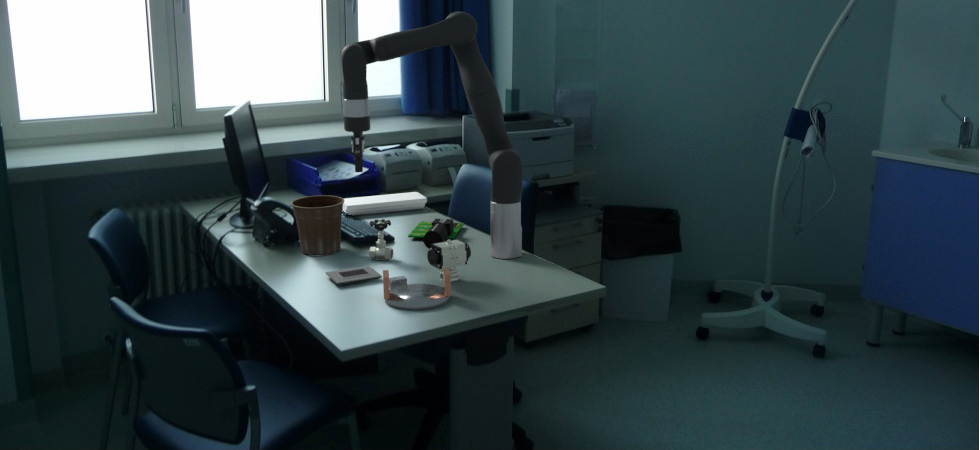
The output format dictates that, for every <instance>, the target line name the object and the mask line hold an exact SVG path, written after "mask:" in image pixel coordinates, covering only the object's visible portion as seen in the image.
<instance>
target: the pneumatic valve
mask: <svg viewBox="0 0 980 450" xmlns="http://www.w3.org/2000/svg"><path fill="white" fill-rule="evenodd" d="M426 256H427V261H428V264H429V265H430V266H432V267H434V268H436V269H438V270H440V272H439V278H440V280H441V281H442V282H443V268H449V270H450V274H451V283H454V282H458V281H459V277H460V271H459V269H456V268H457V267H459V266H460V267H461V266H465V265H468V262H469V258H471V256H472V250H471V247H470V245H469V244H468V243H467V242H466V241H462V240H461V239H451V240H450V239H449V240H447V241H444V242H441V243H436V244H431V248H430V249H428V251H427V254H426Z"/></svg>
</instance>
